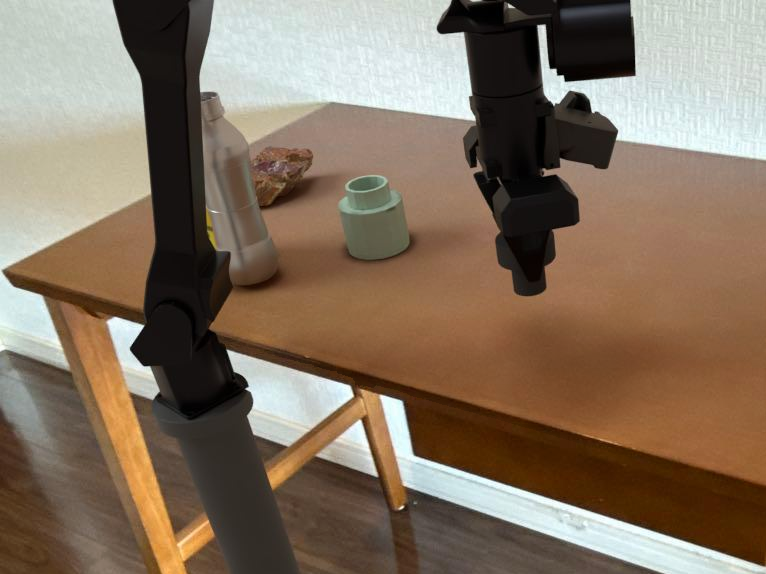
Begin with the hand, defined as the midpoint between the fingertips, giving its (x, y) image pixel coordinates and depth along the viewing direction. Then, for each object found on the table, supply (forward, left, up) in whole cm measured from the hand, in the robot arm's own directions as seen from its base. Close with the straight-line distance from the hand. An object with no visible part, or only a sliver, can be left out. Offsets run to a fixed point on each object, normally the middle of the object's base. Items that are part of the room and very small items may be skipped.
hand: (527, 268), depth 91 cm
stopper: (0, 0, -2) cm, 2 cm away
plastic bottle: (-6, +39, -10) cm, 41 cm away
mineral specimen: (+11, +58, -10) cm, 60 cm away
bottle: (+8, +33, -9) cm, 35 cm away
